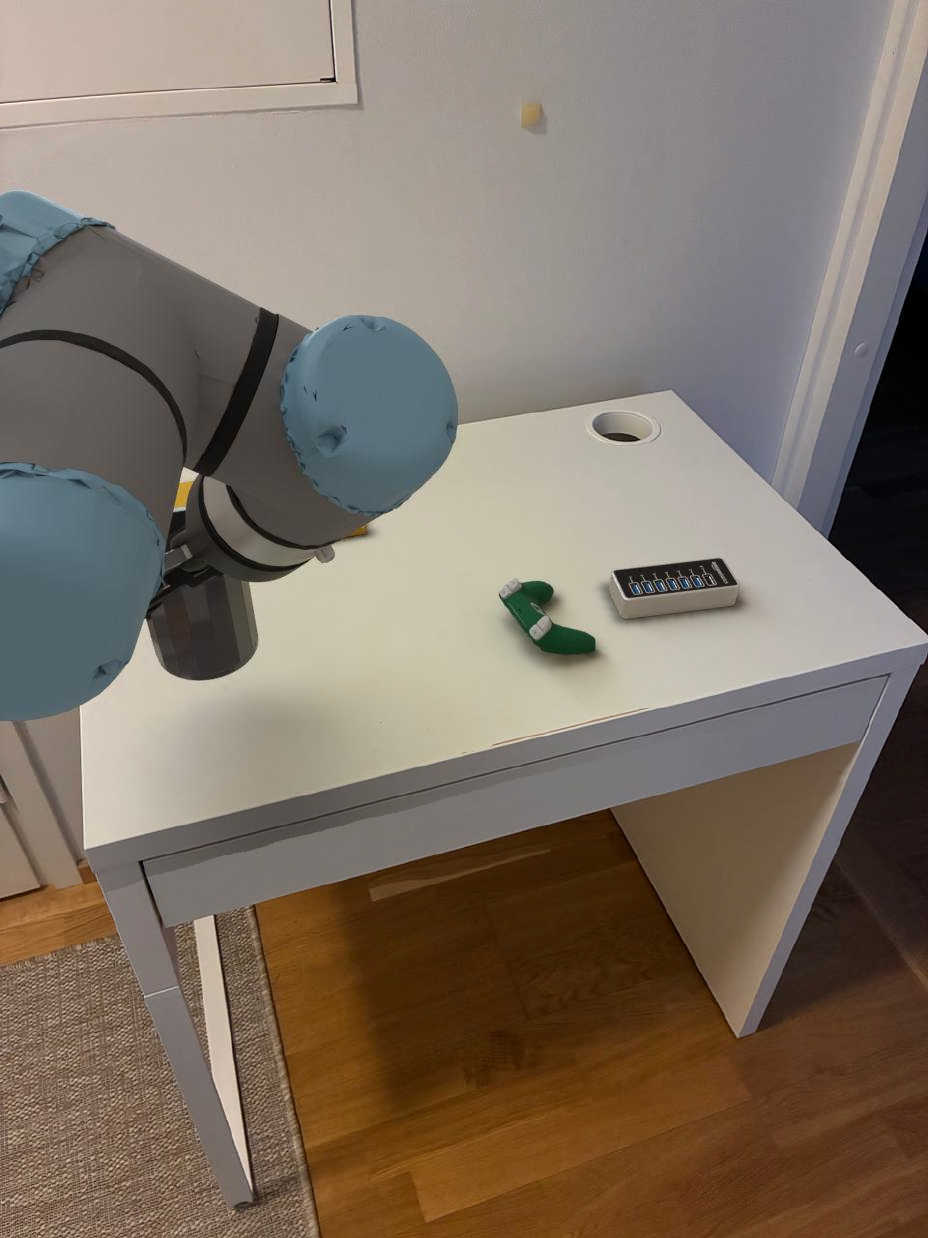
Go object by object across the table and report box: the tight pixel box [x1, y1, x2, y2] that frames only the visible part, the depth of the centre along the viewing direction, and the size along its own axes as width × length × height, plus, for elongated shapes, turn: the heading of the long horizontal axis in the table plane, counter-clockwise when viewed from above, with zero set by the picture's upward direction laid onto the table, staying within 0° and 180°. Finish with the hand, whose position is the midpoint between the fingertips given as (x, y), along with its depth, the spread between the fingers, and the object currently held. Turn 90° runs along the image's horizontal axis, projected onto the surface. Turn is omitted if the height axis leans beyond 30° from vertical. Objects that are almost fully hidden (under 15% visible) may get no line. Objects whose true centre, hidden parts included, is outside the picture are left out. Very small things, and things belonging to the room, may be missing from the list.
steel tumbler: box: [145, 507, 260, 682], centre depth 68 cm, size 7×7×10 cm
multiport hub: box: [608, 557, 740, 620], centre depth 88 cm, size 4×11×2 cm, turn 101°
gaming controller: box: [498, 577, 597, 656], centre depth 84 cm, size 9×4×6 cm
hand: (176, 586), depth 71 cm, fingers closed on steel tumbler, 7 cm apart
